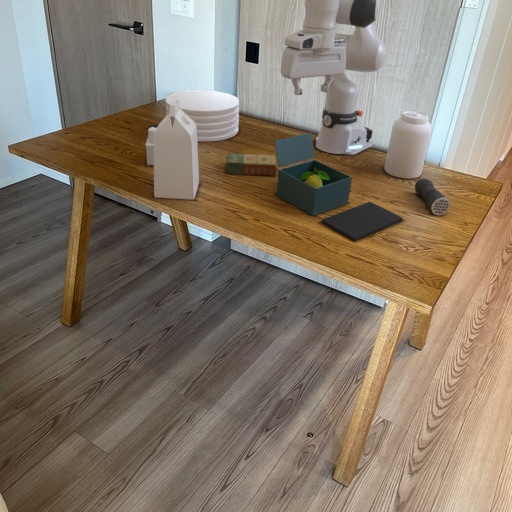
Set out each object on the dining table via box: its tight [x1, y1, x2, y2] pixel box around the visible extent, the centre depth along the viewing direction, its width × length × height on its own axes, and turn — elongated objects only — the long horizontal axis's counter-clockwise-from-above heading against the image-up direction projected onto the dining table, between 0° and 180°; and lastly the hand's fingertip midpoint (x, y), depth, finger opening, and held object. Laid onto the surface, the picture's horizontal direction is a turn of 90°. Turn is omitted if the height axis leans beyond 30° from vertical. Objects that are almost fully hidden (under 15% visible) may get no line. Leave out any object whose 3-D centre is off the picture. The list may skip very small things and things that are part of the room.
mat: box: [321, 201, 403, 242], centre depth 138 cm, size 20×12×1 cm, turn 129°
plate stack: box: [165, 89, 240, 143], centre depth 193 cm, size 28×28×12 cm
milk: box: [153, 99, 200, 201], centre depth 142 cm, size 12×12×26 cm
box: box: [276, 159, 353, 217], centre depth 146 cm, size 16×15×8 cm
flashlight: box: [414, 178, 452, 216], centre depth 149 cm, size 15×5×5 cm, turn 5°
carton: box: [225, 152, 277, 177], centre depth 163 cm, size 8×16×4 cm, turn 88°
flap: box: [273, 131, 315, 168], centre depth 147 cm, size 8×14×1 cm
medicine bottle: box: [144, 124, 159, 166], centre depth 163 cm, size 7×7×12 cm
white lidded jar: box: [383, 110, 433, 180], centre depth 164 cm, size 12×12×20 cm
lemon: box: [300, 169, 330, 188], centre depth 146 cm, size 7×6×10 cm
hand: (311, 93), depth 137 cm, fingers open, 8 cm apart
